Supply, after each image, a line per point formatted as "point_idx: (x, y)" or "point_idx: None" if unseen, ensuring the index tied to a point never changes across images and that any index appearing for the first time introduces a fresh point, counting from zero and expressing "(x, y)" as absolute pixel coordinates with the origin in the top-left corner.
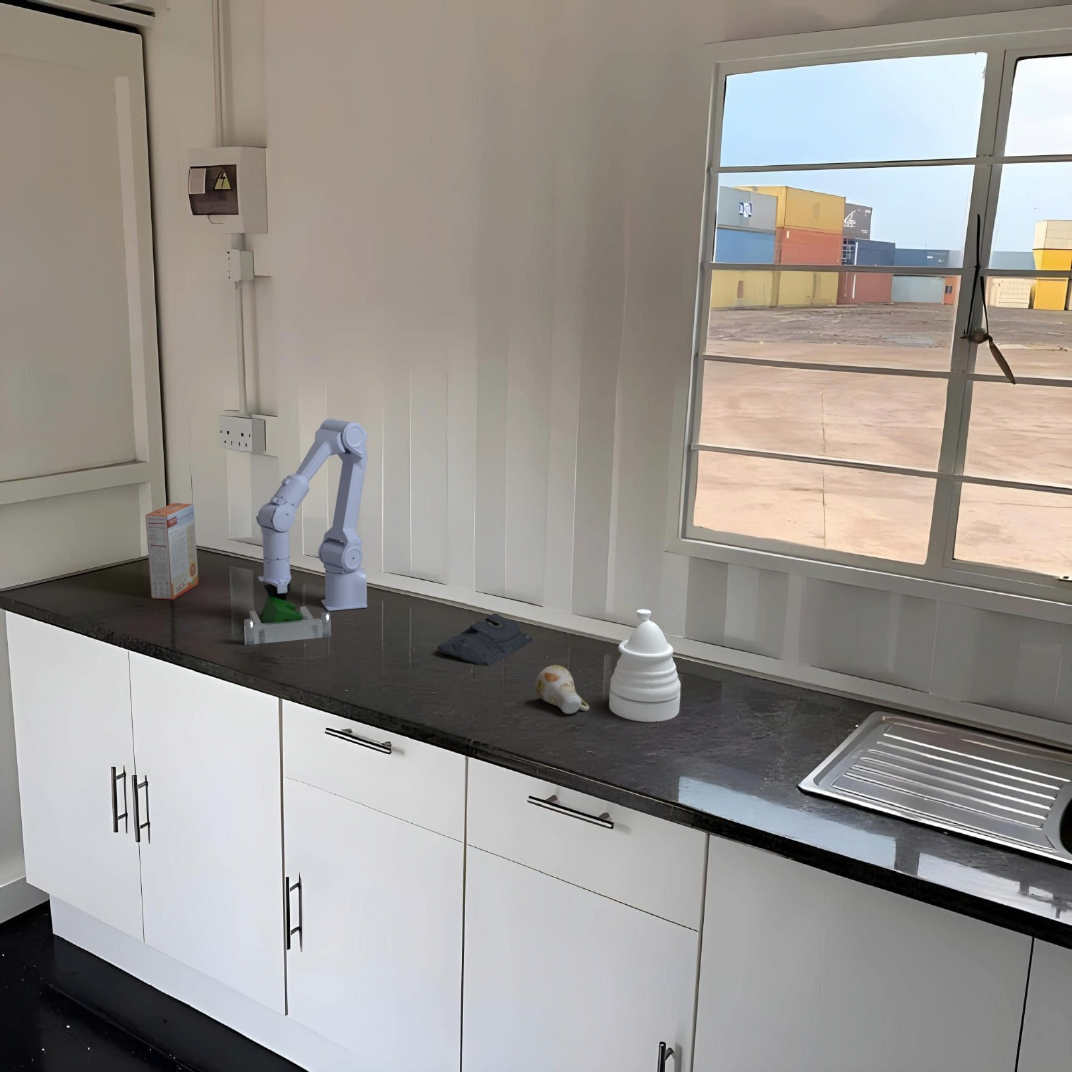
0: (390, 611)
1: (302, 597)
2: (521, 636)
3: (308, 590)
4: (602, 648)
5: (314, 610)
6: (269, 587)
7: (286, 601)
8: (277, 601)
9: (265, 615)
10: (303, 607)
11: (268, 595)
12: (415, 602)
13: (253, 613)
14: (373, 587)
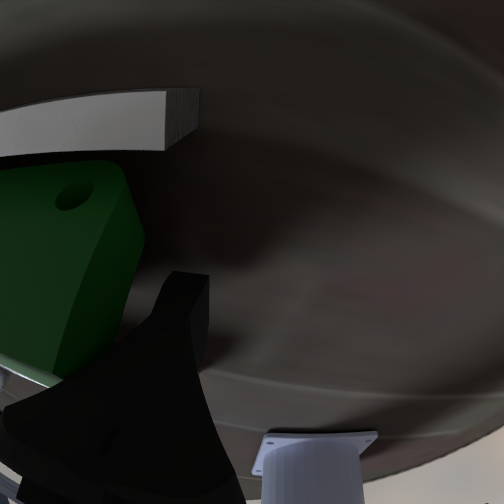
0: None
1: (462, 393)
2: None
3: (491, 402)
4: None
5: (306, 411)
6: (14, 470)
7: None
8: (2, 361)
9: (4, 212)
10: None
11: (146, 390)
12: (254, 494)
13: (81, 122)
14: (393, 474)
